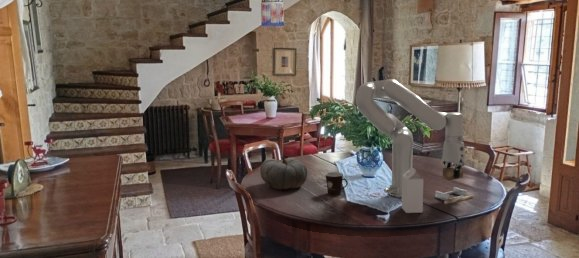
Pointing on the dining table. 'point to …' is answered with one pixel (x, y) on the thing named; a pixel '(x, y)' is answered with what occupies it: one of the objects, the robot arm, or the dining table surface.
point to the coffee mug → (334, 183)
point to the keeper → (455, 191)
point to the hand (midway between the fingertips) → (452, 176)
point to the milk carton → (412, 192)
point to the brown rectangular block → (451, 173)
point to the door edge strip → (458, 199)
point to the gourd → (283, 173)
